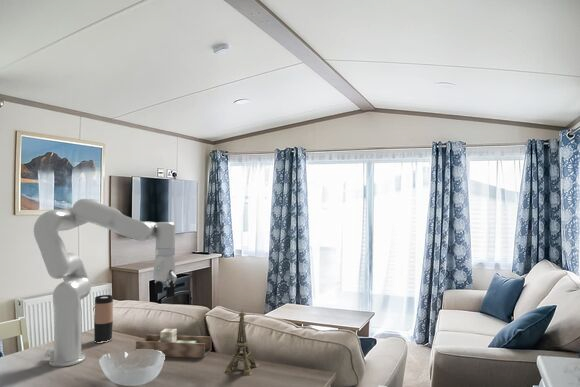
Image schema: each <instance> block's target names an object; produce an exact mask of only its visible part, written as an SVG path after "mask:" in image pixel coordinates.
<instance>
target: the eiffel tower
mask: <svg viewBox="0 0 580 387" xmlns="http://www.w3.org/2000/svg"><path fill="white" fill-rule="evenodd" d="M245 316H246V312H245V311H244V312H243V310H241V311H240V312H239V313H238V317H239V322H238V323H239V324H238V330H237V331H238V332H237V340H236V342H234V343H235V344H234V345H235V349H234V353H233V354H232V359H231V360H230V361H229V363H228V365H227V366H226V368H225V369H224V371H222V373H223V374H231V373H232V372H233V371H234V366H239V365H240V364H241V362H242V364H243V370H244V372H243V376H252V374H253V373H254V371H252V368H258V367H259V366H260V363H258V362H257V360H256V359H255V358H254V357H253V356H252V354H251V351H250V349H249V345H248V344H249V340H247V334H246V324H245ZM241 349H242V351H241ZM248 362H249V363H250V365H249V363H248Z"/></svg>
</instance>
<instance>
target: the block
mask: <svg viewBox="0 0 580 387" xmlns="http://www.w3.org/2000/svg"><path fill="white" fill-rule="evenodd" d="M177 332H178V329H177V328H164V329H163V330H161V331H160V332H159V333H160V334H159V335H160V342H176V341H177V336H178V335H177V334H178V333H177Z"/></svg>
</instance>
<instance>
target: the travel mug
mask: <svg viewBox="0 0 580 387" xmlns="http://www.w3.org/2000/svg"><path fill="white" fill-rule="evenodd" d="M113 307H114V296H113V295H112V294H104V295H103V294H101V295H96V296H95V298H94V319H93V320H94V322H93V324H94V325H93V326H94V329H93V330H94V333H93V334H94V342H95V341H96V342H101V341H107V340H110V339H111V338H112V339H113V322H114V321H113V320H114V315H113V314H114V308H113Z"/></svg>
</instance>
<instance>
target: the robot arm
mask: <svg viewBox="0 0 580 387" xmlns="http://www.w3.org/2000/svg"><path fill="white" fill-rule="evenodd" d="M87 223H90V224H94V225H96V226H99V227H101V228H104V229H107V230H109V231H110V232H114V233H116V234H119V235H121V236H124V237H126V238H128V239H132V240H135V241H138V242H145V241H149V240H155V258H154V262H153V276H152V277H153V279H154V294H156V295H157V294H162V293H164V288H163V287H164V282H165V283H166V287H165V288H166V294H165V295H166V298H171V297H172V298H174V297H175V290H176V288H175V287H176V282H177V278H178V277H177V275H176V262H175V261H176V260H175V256H176V255H175V254H176V251H175V250H176V224H175V223H174V222H172V221H159V222H157V221H156V222H155V221H141V220H139V219H135V218H133V217H130V216H127V215H125V214H123V213H122V212H121V211H120V210H119V209H117V208H115V207H112V206H109V205H106V204H103V203H101V202H100V201H99V200H97V199H93V198H81V199H78V200H77V201H75V202H74V204H73V206H72V207H70V208H67V209H52V210H51V209H50V210H47V211H45V212H43V213H42V214H41V215H39V216H38V218H37V219H36V220H35V222H34V226H33V236H34V239H35V242H36V244H37V246H38V248H39V251H40V254H41V257H42V260H43V263H44V266H45V268H46V271H47V273H48V275H49V276H50V277H51V278H53V279H55V280H59V279H60V280H61V279H63V281H61V282H60V283H59V284H58V285H56V287H55V288H54V290H53V293H52V301H53V302H52V303H53V310H54V327H53V328H54V330H53V331H54V332H53V333H54V334H53V340H54V341H53V349H52V348H51V349H50V348H48V349H46V352H45V354H44V355H45V356H46V357H50V359H48V360H49V361H48V364H49V365H50V366H51V367H54V368H55V367H59V368H61V367H62V368H64V367H68V366H69V367H70V366H73V365H76V364H79V363H82V362H83V361H85V359H86V354H84V353H83V352H82V330H83V328H82V327H83V311H82V305H81V300H83V299H85V298H86V297H87V296H89V294H90V292H91V290H92V287H91V286H92V285H91V281H90V278H89V275H88V272H87V269H86V267H85V264H84V262H83V260H82V258H81V257H80V256H79V255H78V254H77V253H74V252H68V251H67V249H66V245H65V243H64V240H63V239H62V238H61V236H60V235H59V232H63V231H69V230H72V229H76V228H77V227H80V226H82V225H85V224H87Z"/></svg>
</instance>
